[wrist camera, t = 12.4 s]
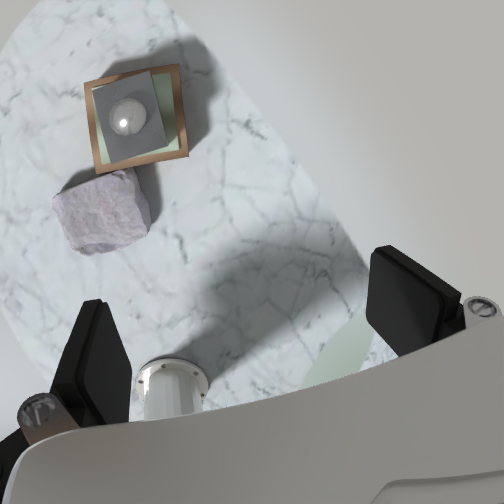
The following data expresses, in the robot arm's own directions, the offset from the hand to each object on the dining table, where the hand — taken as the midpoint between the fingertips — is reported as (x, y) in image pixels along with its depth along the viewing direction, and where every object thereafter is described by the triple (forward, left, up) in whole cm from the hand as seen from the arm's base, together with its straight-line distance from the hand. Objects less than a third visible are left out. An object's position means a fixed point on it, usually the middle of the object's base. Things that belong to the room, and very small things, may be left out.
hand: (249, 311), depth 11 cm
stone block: (-3, +12, -33) cm, 35 cm away
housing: (+8, +6, -28) cm, 30 cm away
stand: (+8, +6, -32) cm, 34 cm away
